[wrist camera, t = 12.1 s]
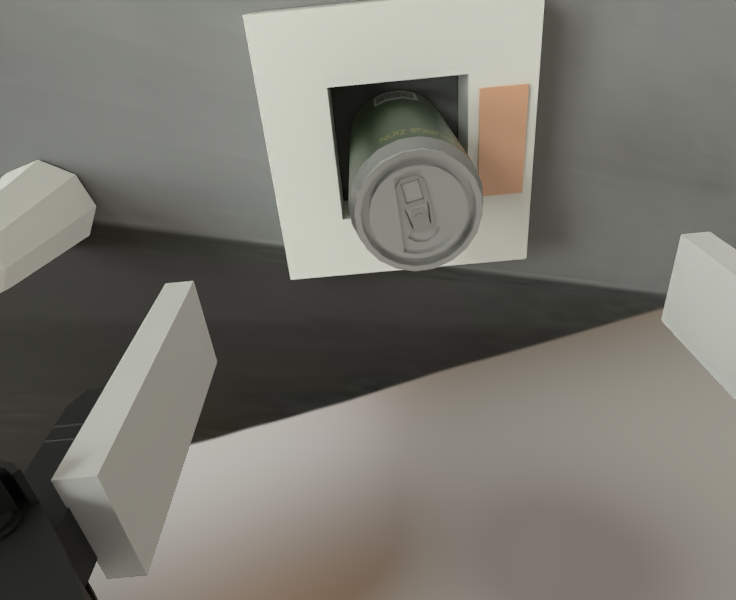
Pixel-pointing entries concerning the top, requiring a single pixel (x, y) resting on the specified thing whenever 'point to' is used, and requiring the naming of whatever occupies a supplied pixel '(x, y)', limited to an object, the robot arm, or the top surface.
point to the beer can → (411, 183)
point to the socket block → (386, 64)
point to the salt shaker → (39, 218)
